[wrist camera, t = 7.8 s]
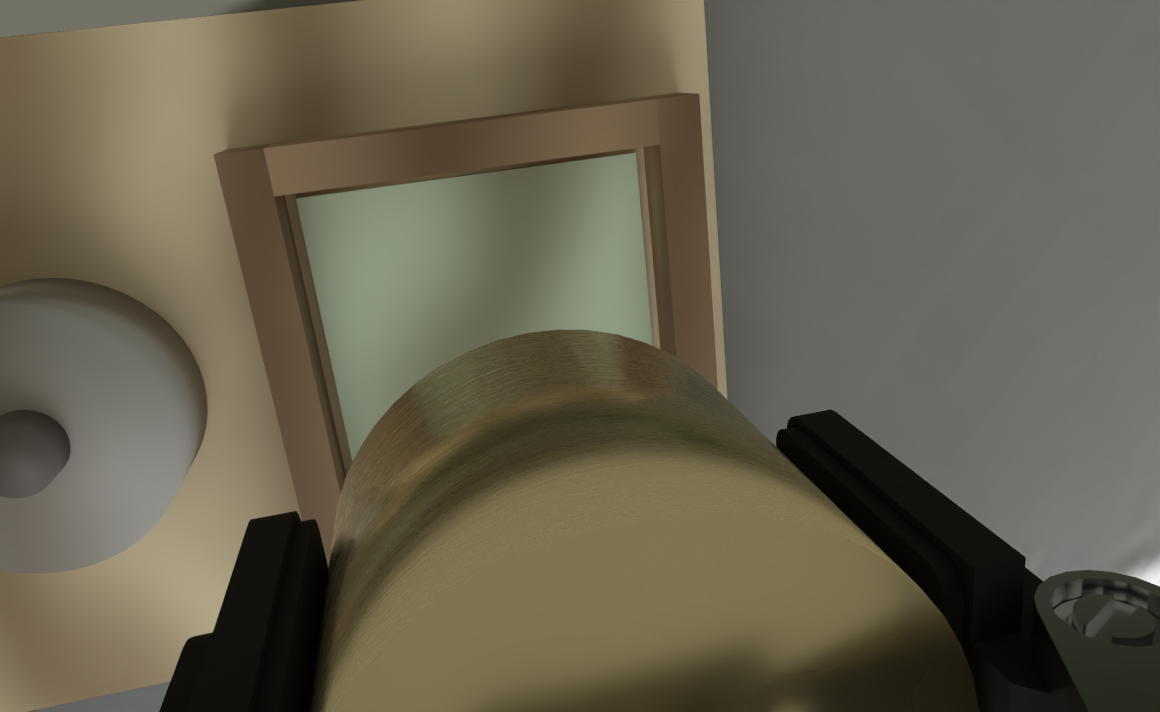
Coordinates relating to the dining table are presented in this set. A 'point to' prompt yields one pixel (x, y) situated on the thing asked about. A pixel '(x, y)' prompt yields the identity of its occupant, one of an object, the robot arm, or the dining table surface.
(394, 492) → the gold round vessel
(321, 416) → the carrier
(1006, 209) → the dining table surface
